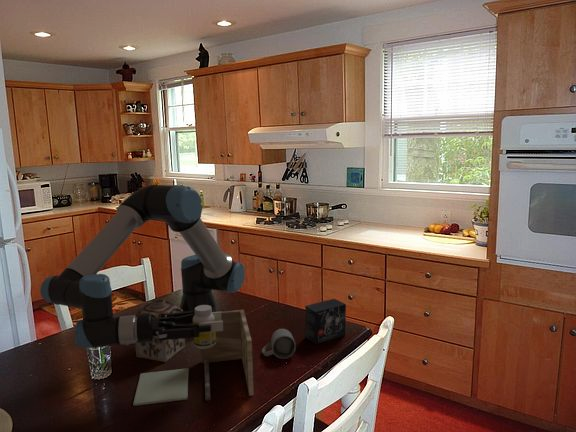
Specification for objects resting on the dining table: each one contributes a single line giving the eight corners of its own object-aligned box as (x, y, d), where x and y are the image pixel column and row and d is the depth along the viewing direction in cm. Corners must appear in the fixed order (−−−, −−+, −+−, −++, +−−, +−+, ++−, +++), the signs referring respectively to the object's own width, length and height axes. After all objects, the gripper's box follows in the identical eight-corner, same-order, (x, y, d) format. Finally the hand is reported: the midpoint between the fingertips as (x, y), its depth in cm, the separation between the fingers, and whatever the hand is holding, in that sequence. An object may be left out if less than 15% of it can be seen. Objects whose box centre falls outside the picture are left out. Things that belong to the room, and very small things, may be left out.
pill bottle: (207, 337, 134) (205, 302, 132) (220, 344, 129) (218, 307, 128) (189, 344, 129) (187, 308, 127) (202, 351, 125) (200, 313, 123)
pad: (140, 375, 136) (140, 373, 136) (188, 370, 139) (188, 368, 139) (133, 405, 121) (133, 403, 120) (187, 399, 123) (187, 397, 123)
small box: (316, 345, 154) (315, 311, 152) (304, 338, 159) (304, 305, 157) (346, 335, 161) (346, 303, 159) (334, 329, 166) (334, 297, 164)
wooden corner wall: (201, 361, 144) (199, 313, 141) (245, 356, 146) (243, 309, 144) (202, 401, 122) (199, 345, 119) (253, 395, 125) (251, 340, 122)
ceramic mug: (292, 346, 153) (291, 324, 152) (296, 357, 145) (295, 335, 144) (261, 349, 152) (260, 327, 150) (263, 361, 144) (262, 338, 142)
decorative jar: (135, 357, 147) (131, 304, 144) (157, 342, 158) (153, 292, 155) (166, 363, 143) (162, 309, 140) (186, 347, 154) (183, 296, 151)
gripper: (141, 327, 134) (220, 320, 139) (134, 358, 116) (225, 348, 121) (140, 303, 133) (219, 296, 138) (131, 330, 115) (224, 321, 119)
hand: (221, 320), depth 129 cm, fingers closed on pill bottle, 6 cm apart
